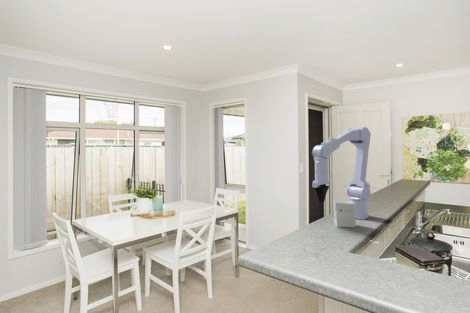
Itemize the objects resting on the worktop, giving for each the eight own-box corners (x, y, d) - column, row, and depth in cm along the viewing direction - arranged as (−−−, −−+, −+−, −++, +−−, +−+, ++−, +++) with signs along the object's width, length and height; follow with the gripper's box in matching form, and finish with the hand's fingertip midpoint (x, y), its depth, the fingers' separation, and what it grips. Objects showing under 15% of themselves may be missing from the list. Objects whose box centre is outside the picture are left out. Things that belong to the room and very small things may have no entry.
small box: (351, 224, 130) (351, 201, 130) (355, 227, 125) (355, 203, 124) (333, 223, 131) (333, 200, 131) (336, 227, 126) (336, 203, 125)
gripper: (319, 170, 138) (320, 198, 138) (305, 172, 127) (306, 203, 127) (334, 170, 133) (334, 199, 134) (320, 173, 122) (321, 205, 123)
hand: (321, 201), depth 130 cm, fingers closed
